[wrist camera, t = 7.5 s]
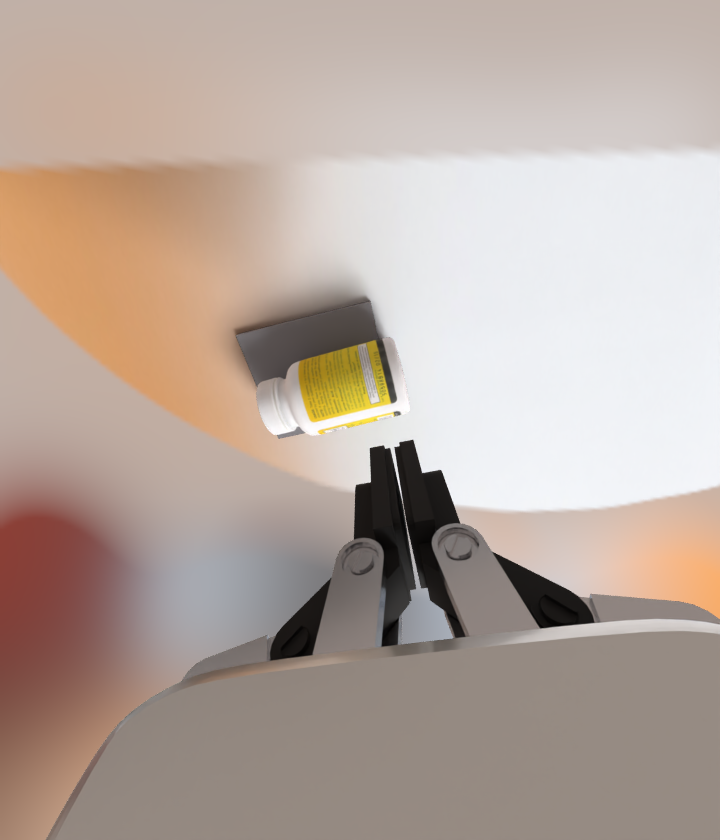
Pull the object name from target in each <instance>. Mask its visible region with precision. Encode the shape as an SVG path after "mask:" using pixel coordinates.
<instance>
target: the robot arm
mask: <svg viewBox="0 0 720 840" xmlns="http://www.w3.org/2000/svg"><path fill="white" fill-rule="evenodd" d="M399 444H400V446H398V447H394V448H395V454H396V460H397V466H398V473H399V479H400V485H401V491H402V498H403V504H404V509H403V504H402V499H401V494H400V490H399V486H398V481H397V477H396V472H395V468H394V463H393V459H392V454H391V450H390V448H388V449H385V447H384V445H383V446H378V447H373V448H370V466H371V482H370V483H365V484H359V485H356V488H355V521H354V522H355V523H354V540H352V541H350V542H348V543H347V544H346V545H344V546H343V548H342V549H341V550H340V551H339V554H338V556H337V558H336V562H335V566H334V570H333V574H332V578H331V579H330V580H329V581H328V582H327V583H326V584H325V585H324V586H323V587H322V588H321V589H320V590H319V591H318V592H317V593H316V594H315V595H314V596H313V597H312V598H311V599H310V600H309V601H308V602H307V603H306V604H305V605H304V606H303V607H302V608H301V609H300V610H299V611H298V612H297V613H296V614H295V615H294V616H293V617H292V618H291V619H290V620H289V621H288V622H287V623H286V624H285V625H284V626H283V627H282V628H281V629H280V631H279V632H278V633H277V634H276V636H274V637H271V638H269V637H268V635H266V636H263V637H260V638H258V639H255V640H253V641H250V642H247V643H245V644H242V645H240V646H237V647H235V648H232V649H229V650H227V651H224V652H222V653H219V654H216V655H213V656H211V657H208V658H206V659H204V660H202V661H200V662H199V663H197V664H195V665H194V666H193V667H192V668H191V669H190V670H189V671H188V672H187V674H186V675H185V677H184V678H183V680H182V681H181V682H179V683H177V684H175V685H173V686H171V687H169V688H167V689H165V690H164V691H162V692H160V693H158V694H157V695H155V696H153V697H151V698H150V699H148V700H147V701H145V702H144V703H143V704H141V705H140V706H138V707H137V708H136V709H134V710H133V711H132V712H131V713H130V714H128V715H127V716H126V717H125V718H124V719H123V720H122V721H121V722H120V723H119V724H118V725H117V727H116V728H115V729H114V730H113V731H112V732H111V734H110V735H109V736H108V737H107V739H106V740H105V742H104V743H103V744H102V746H101V747H100V748H99V750H98V751H97V753H96V754H95V756H94V758H93V759H92V760H91V762H90V764H89V766H88V767H87V769H86V770H85V772H84V774H83V775H82V777H81V779H80V780H79V782H78V784H77V785H76V787H75V789H74V790H73V792H72V794H71V796H70V797H69V799H68V801H67V803H66V804H65V806H64V808H63V810H62V811H61V813H60V815H59V817H58V818H57V820H56V822H55V824H54V826H53V827H52V829H51V831H50V833H49V835H48V837H47V838H46V840H720V619H718V618H717V617H716V616H714V615H713V614H711V613H710V612H708V611H706V610H704V609H702V608H700V607H698V606H695V605H693V604H688V603H684V602H679V601H667V600H655V599H644V598H632V597H620V596H609V595H597V594H590V598H584V597H578V596H577V595H575V594H574V593H572V592H571V591H569V590H567V589H566V588H564V587H562V586H559V585H558V584H556V583H553V582H552V581H549V580H548V579H546V578H544V577H542V576H540V575H538V574H536V573H534V572H532V571H530V570H528V569H526V568H524V567H522V566H520V565H518V564H516V563H514V562H512V561H510V560H508V559H506V558H503V557H502V556H500V555H498V554H496V553H494V552H492V551H491V550H490V548H489V546H488V545H487V543H486V542H485V540H484V538H483V537H482V535H481V534H480V533H479V532H478V531H477V530H476V529H474V528H472V527H471V526H468V525H465V524H460V521H459V518H458V516H457V513H456V510H455V507H454V504H453V501H452V499H451V496H450V493H449V490H448V487H447V485H446V482H445V479H444V476H443V473H442V471H441V470H438V471H432V472H427V473H422V471H421V467H420V463H419V460H418V456H417V452H416V448H415V444H414V441H413V440H410V441H404V442H399ZM404 510H405V516H406V522H407V526H408V532H409V536H410V540H411V545H412V549H413V554H414V558H415V563H416V567H417V572H418V576H419V580H420V585H421V588H428V591H429V597H430V600H431V601H432V602H433V603H435V604H436V605H438V606H439V607H440V608H442V609H443V610H444V614H445V617H446V620H447V623H448V625H449V628H450V630H451V633H452V636H453V639H446V640H437V641H428V642H419V643H411V644H403V645H402V612H403V611H404V610H405V609H406V607H407V606H408V605H409V603H410V602H409V601H411V595H410V590H413V589H416V585H415V580H414V573H413V567H412V561H411V554H410V548H409V541H408V535H407V528H406V522H405V516H404Z"/></svg>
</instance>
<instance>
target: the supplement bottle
mask: <svg viewBox="0 0 720 840" xmlns="http://www.w3.org/2000/svg"><path fill="white" fill-rule="evenodd" d="M256 397H257V405H258V409H259V412H260V415H261V418H262V420H263V422H264V424H265V426H266V428H267V429H268V430H269V431H270V432H271V433H272V434H274V435H279V434H283V433H288V432H291V431H294V430H296V428H297V427H300V428H301V429H302V430H303V431H304V432H305V433H307V434H309V435H320V434H325V433H329V432H333V431H337V430H341V429H345V428H349V427H353V426H358V425H361V424H366V423H370V422H374V421H378V420H382V419H386V418H391V417H394V416H398V415H402V414H405V413H408V412H409V410H410V403H409V398H408V392H407V388H406V383H405V378H404V373H403V369H402V365H401V362H400V359H399V355H398V352H397V349H396V345H395V342H394V340H393V339H392V338H390V337H387V338H381V339H378V340H373V341H370V342H367V343H363V344H359V345H356V346H352V347H348V348H344V349H341V350H337V351H334V352H330V353H327V354H323V355H319V356H315V357H311V358H308V359H304V360H301V361H298V362H296V363H294V364H292V365H291V366H290V368H289V369H288V372H287V375H286V379H283V378H280V377H278V378H273V379H269V380H266V381H262V382H260V383H259V385H258V387H257V392H256Z"/></svg>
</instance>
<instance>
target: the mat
mask: <svg viewBox="0 0 720 840" xmlns="http://www.w3.org/2000/svg"><path fill="white" fill-rule="evenodd" d="M236 338H237V340H238V342H239V345H240V347H241V350H242V352H243V354H244V357H245V359H246V362H247V364H248V366H249V369H250V371H251V374H252V376H253V378H254V381H255V383H256V386H257V387H258V385H259V383H260V382H262V381H266V380H269V379H273V378H278V377H280V378H283V379H286V375H287V372H288V369H289V368H290V366H291V365H292V364H294V363H296V362H298V361H301V360H304V359H308V358H311V357H315V356H319V355H323V354H327V353H330V352H334V351H337V350H341V349H344V348H348V347H352V346H356V345H359V344H363V343H367V342H370V341H373V340H378V336H377V331H376V326H375V321H374V316H373V311H372V306H371V302H370V301H368V302H364V303H360V304H356V305H352V306H348V307H344V308H340V309H336V310H332V311H328V312H324V313H320V314H316V315H312V316H308V317H304V318H300V319H296V320H292V321H288V322H284V323H280V324H276V325H272V326H268V327H264V328H260V329H256V330H252V331H248V332H244V333H240V334H237V335H236ZM303 433H305V432H304V431H303V430H302V429H301V428H300V427H297V428H296V430H294V431H291V432H288V433H283V434H279V435H277V436H278V439H280V438H285V437H289V436H294V435H298V434H303Z"/></svg>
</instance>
